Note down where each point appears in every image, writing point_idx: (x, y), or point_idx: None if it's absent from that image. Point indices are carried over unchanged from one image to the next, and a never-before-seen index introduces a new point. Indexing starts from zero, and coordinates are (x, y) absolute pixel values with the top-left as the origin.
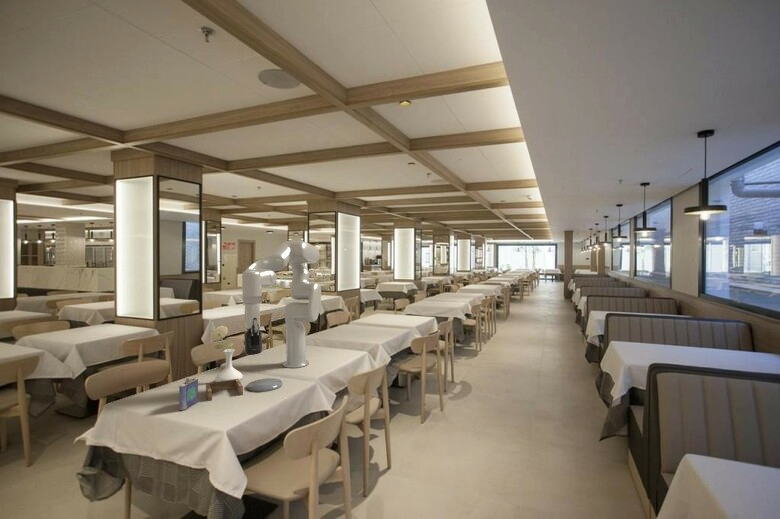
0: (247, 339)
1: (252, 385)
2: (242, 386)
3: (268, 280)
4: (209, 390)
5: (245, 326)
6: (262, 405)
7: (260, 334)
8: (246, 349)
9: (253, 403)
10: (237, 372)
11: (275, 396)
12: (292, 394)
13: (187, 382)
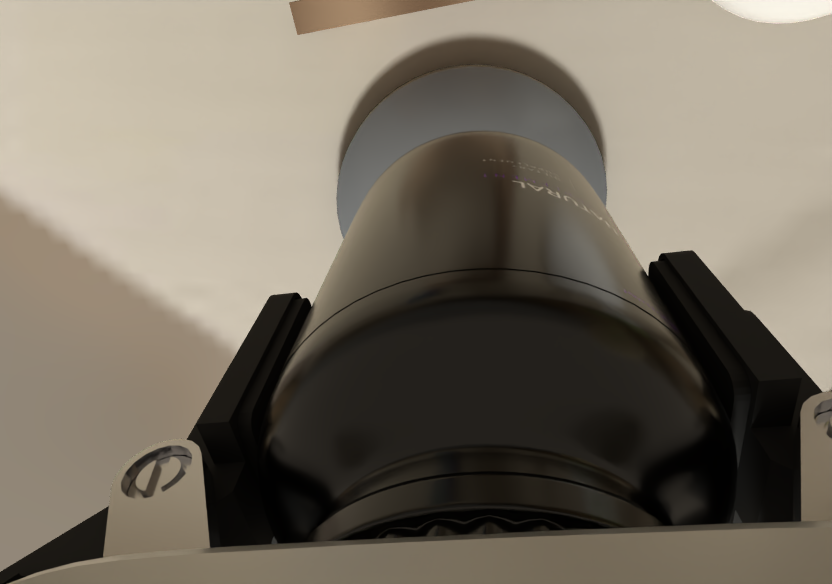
0: (326, 290)
1: (458, 113)
2: (298, 31)
3: None
4: None
5: (642, 548)
6: (62, 167)
7: None
8: (395, 176)
9: (105, 109)
10: None
11: (223, 254)
12: (239, 344)
13: None
